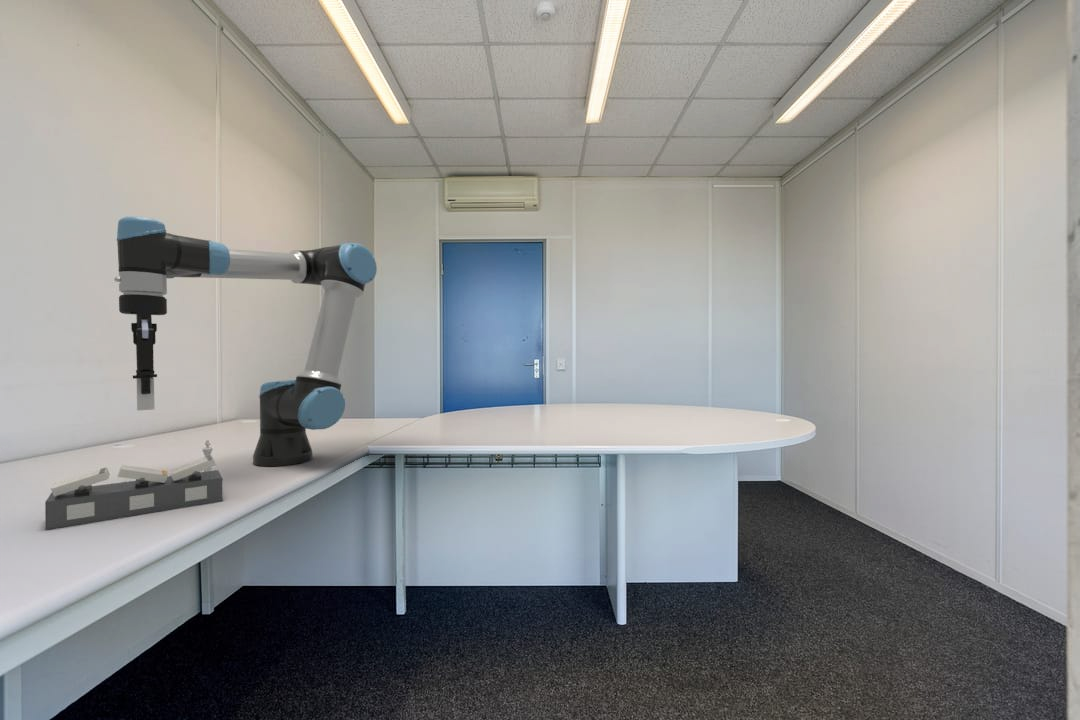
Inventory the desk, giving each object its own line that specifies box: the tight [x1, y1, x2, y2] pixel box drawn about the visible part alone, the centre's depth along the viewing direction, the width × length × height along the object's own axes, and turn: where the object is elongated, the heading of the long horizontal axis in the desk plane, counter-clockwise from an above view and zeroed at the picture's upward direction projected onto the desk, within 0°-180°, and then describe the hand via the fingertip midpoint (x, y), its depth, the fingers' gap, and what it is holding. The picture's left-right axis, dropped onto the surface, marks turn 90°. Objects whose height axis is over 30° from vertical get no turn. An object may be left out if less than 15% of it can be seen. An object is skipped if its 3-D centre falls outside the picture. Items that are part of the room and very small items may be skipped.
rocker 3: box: [169, 455, 217, 481], centre depth 100 cm, size 8×4×2 cm, turn 129°
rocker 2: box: [117, 464, 169, 483], centre depth 94 cm, size 8×4×2 cm, turn 130°
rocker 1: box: [50, 467, 111, 496], centre depth 89 cm, size 8×4×2 cm, turn 129°
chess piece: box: [202, 439, 213, 472], centre depth 114 cm, size 5×5×10 cm
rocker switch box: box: [44, 469, 223, 531], centre depth 94 cm, size 26×8×6 cm, turn 130°
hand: (145, 409), depth 97 cm, fingers closed
